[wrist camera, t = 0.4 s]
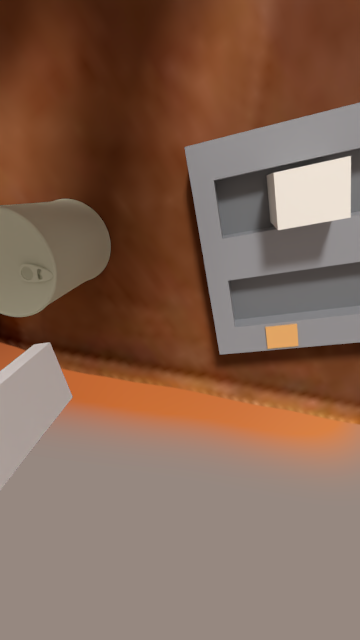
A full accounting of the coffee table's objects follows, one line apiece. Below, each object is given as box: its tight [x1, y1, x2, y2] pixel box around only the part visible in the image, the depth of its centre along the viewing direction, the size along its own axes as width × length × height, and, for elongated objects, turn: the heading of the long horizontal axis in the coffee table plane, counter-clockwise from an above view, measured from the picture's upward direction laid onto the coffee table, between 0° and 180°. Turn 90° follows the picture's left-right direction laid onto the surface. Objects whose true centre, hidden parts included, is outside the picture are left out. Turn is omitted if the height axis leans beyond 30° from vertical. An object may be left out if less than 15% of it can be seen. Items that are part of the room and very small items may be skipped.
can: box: [0, 199, 111, 317], centre depth 30 cm, size 9×9×12 cm
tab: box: [266, 156, 351, 230], centre depth 24 cm, size 4×5×6 cm
